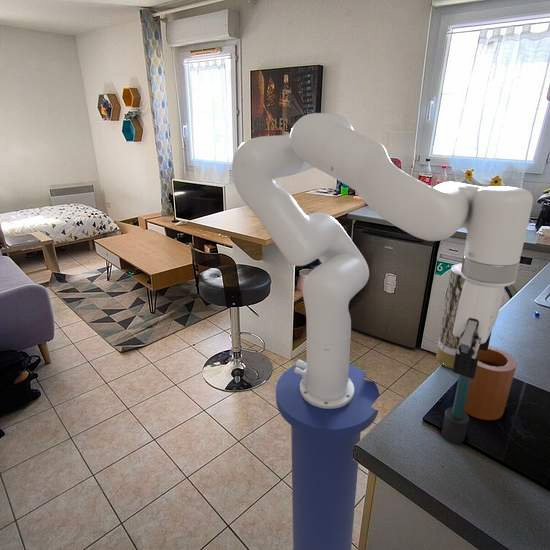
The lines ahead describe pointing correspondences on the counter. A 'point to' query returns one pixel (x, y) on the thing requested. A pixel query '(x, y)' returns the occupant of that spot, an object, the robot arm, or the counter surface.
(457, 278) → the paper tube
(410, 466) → the counter surface
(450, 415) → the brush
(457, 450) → the counter surface
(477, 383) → the orange hollow cylinder
